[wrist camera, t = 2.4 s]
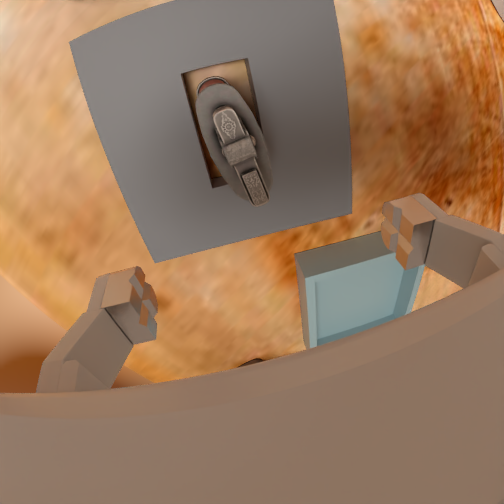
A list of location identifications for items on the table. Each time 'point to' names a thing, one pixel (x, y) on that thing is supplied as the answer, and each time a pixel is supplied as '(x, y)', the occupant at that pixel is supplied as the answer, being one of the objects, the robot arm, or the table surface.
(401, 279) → the parts tray
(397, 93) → the table surface
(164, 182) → the gray plate with hole
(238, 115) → the lighter
